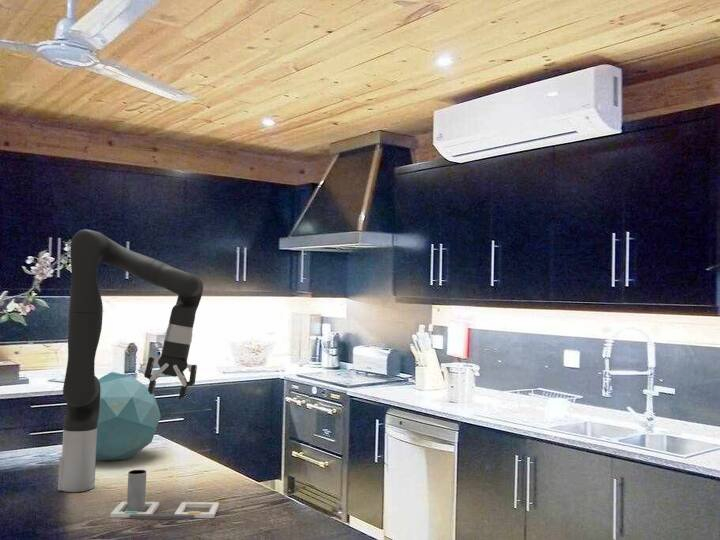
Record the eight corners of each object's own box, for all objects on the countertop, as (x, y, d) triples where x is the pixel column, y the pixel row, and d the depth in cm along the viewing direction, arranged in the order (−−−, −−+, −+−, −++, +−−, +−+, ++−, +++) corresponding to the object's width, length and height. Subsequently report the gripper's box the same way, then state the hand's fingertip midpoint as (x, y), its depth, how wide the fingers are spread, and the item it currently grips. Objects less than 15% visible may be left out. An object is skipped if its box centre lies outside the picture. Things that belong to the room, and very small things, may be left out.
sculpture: (169, 408, 255) (129, 346, 242) (180, 448, 229) (135, 382, 216) (98, 448, 249) (53, 388, 236) (101, 495, 224) (50, 430, 211)
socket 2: (174, 517, 172) (174, 512, 172) (181, 505, 182) (181, 501, 182) (213, 518, 173) (213, 513, 173) (219, 506, 183) (219, 501, 183)
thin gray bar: (129, 518, 171) (129, 515, 171) (130, 517, 172) (130, 514, 172) (193, 519, 172) (193, 516, 172) (193, 518, 173) (193, 515, 173)
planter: (136, 507, 180) (137, 468, 180) (148, 510, 178) (150, 471, 178) (122, 512, 176) (124, 472, 176) (135, 515, 174) (137, 474, 174)
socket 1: (110, 517, 171) (110, 512, 171) (121, 505, 181) (121, 500, 181) (150, 517, 172) (150, 512, 172) (159, 505, 182) (159, 500, 182)
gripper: (150, 336, 193) (137, 393, 191) (199, 345, 193) (187, 402, 191) (156, 337, 200) (145, 391, 198) (204, 345, 200) (193, 400, 199)
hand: (166, 396), depth 195 cm, fingers open, 8 cm apart
